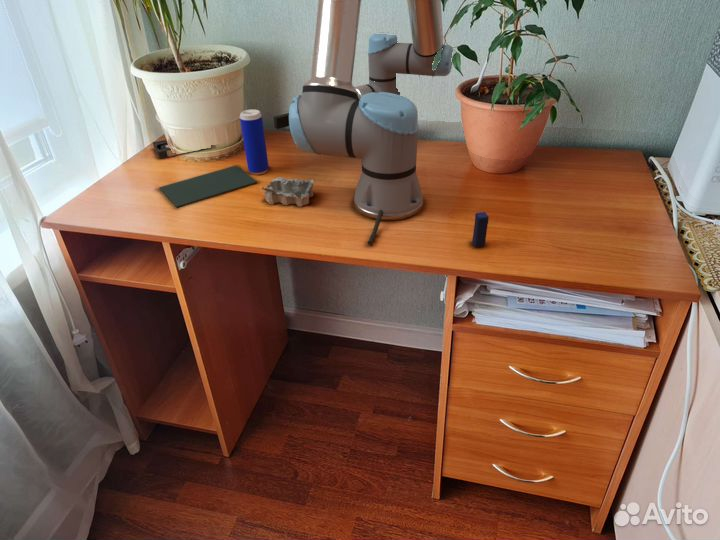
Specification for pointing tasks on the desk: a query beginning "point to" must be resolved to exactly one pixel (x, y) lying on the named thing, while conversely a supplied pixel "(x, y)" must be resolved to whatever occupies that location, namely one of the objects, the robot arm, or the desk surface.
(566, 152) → the desk surface
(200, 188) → the mat
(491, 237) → the desk surface
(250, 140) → the beverage can
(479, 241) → the eraser
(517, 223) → the desk surface
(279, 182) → the egg carton
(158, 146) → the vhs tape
